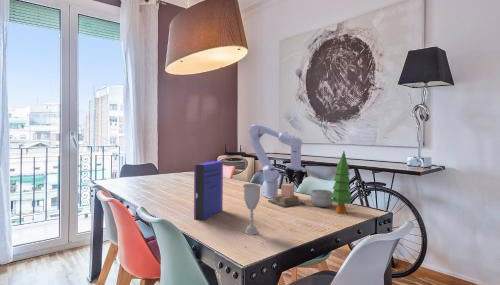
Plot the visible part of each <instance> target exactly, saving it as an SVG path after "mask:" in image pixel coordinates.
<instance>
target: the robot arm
mask: <svg viewBox="0 0 500 285" xmlns="http://www.w3.org/2000/svg"><path fill="white" fill-rule="evenodd" d="M248 134H249V143H250V145H251V147H252V149H253V151H254V153H255V155H256V157H257V159H258V161H259V163H260V165H261V167H262V173H263V178H264V181H263V183H262V185H261V187H262V193H260V196H262V197H266V198H268V199H275V195H279V193H278V192H279V191H278V190H279V185H278V184H279V182H278V181H279V178H280V172H279V171H278V170H277V169H276V168H275V166H274V165H273V164H272V162H271V161H270V159H269V157H268V156H267V154H266V151H265V149H264V148H263V146H262V143H261V142H260V141H261V138H262V136H264V134H267V135H270V136H273V137H275V138H277V139H278V140H279V142H281V143H283V144H286V145H287V146H290V165H289V164H288V165H285V173H286V175H287V179H288V183H293V182H294V174H295V172H296V174H297V183H298V184H297V185H302V183H303V180H304V178H305V176H306V174H307V168H306V167H303V166H302V165H301V163H302V145H303V140H302V138H300V137H298V136H297V137H296V136H295V135H291V134H289V133H288V132H287V131H285V132H284V131H282V132H279V131H277V130H276V129H273V128H272V127H269V126H266V125H263V124H256V123H254V124H252V125H250V126H249V130H248Z"/></svg>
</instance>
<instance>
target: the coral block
mask: <svg viewBox="0 0 500 285" xmlns="http://www.w3.org/2000/svg"><path fill="white" fill-rule="evenodd" d="M280 185H281V191H280V194H281V196H287V197H291V196H294V195H295V184H294V183H287V182H286V183H283V184H280Z"/></svg>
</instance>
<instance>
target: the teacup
mask: <svg viewBox="0 0 500 285" xmlns="http://www.w3.org/2000/svg"><path fill="white" fill-rule="evenodd" d="M332 193H333V191H332V190H330V189H312V190H310V200H311V203H312V204H314V206H315V207H320V208H321V207H323V208H324V207H328V206H329V205H331V204H332V203H334V202H332V200H333V198H331V196H332Z"/></svg>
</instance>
